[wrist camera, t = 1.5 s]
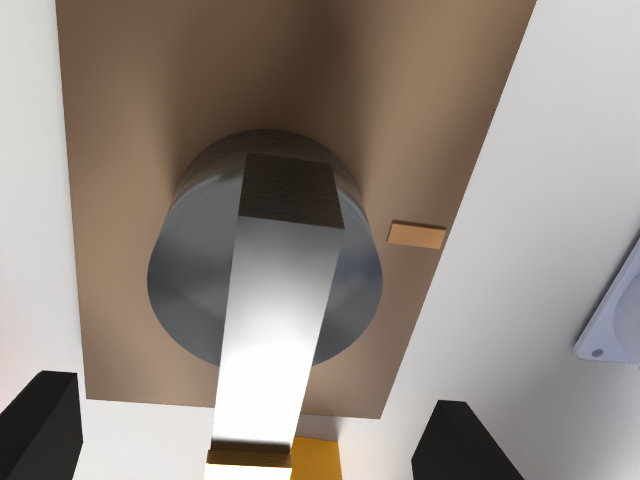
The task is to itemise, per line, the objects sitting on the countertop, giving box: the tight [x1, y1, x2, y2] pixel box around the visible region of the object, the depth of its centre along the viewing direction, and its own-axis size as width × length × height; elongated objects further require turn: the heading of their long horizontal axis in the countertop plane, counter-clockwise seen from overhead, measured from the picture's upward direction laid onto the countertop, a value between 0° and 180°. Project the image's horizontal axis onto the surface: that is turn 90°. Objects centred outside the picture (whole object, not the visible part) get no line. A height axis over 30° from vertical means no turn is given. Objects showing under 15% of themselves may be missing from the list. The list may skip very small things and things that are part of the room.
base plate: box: [55, 0, 537, 419], centre depth 18 cm, size 13×20×2 cm, turn 169°
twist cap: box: [147, 129, 383, 480], centre depth 14 cm, size 6×8×7 cm
